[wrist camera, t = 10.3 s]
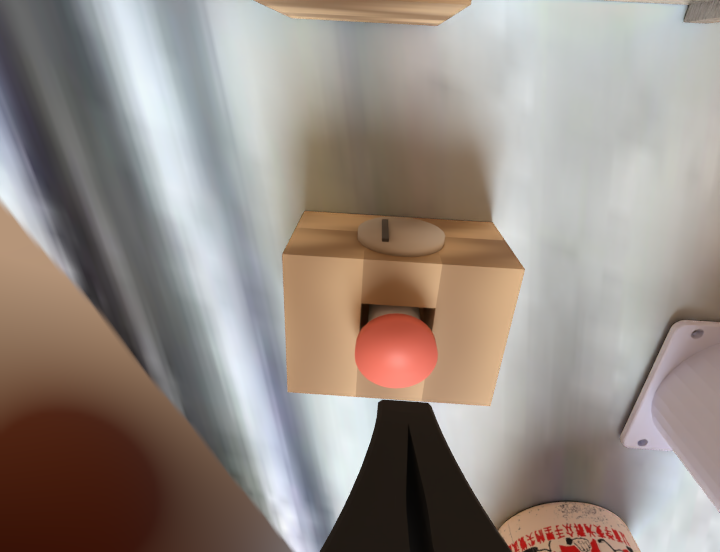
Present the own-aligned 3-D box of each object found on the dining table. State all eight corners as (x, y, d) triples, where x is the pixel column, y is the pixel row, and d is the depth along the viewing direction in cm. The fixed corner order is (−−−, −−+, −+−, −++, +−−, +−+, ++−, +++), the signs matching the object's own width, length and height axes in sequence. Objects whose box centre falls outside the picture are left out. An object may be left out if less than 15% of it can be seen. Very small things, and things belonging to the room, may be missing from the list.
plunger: (431, 275, 17) (443, 324, 14) (423, 333, 18) (432, 390, 15) (361, 270, 17) (356, 318, 14) (357, 329, 18) (352, 385, 15)
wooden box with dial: (494, 212, 18) (527, 258, 14) (469, 338, 21) (490, 405, 17) (304, 201, 18) (281, 242, 14) (305, 327, 21) (287, 391, 17)
